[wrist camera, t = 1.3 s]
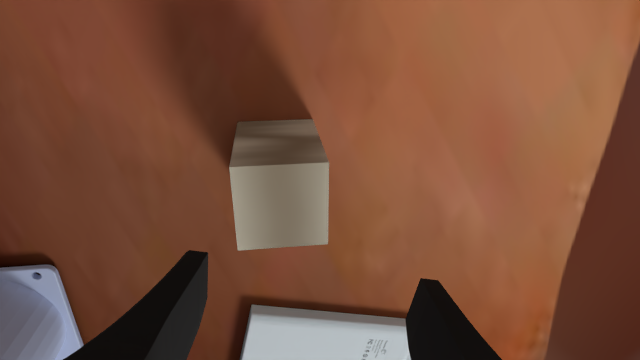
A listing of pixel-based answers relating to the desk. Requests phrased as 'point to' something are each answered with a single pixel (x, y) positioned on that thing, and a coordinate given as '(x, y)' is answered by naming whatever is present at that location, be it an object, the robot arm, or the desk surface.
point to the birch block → (279, 184)
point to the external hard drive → (322, 335)
